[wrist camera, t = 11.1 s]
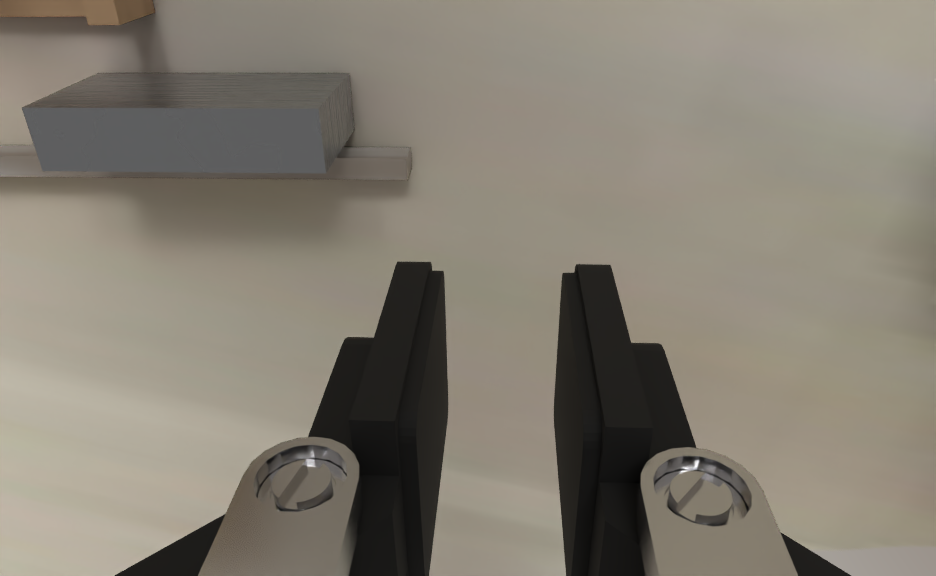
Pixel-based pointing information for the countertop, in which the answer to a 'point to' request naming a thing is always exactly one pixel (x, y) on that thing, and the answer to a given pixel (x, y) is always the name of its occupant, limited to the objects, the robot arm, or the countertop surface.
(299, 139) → the grey rectangular block
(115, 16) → the bay
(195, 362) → the countertop surface
